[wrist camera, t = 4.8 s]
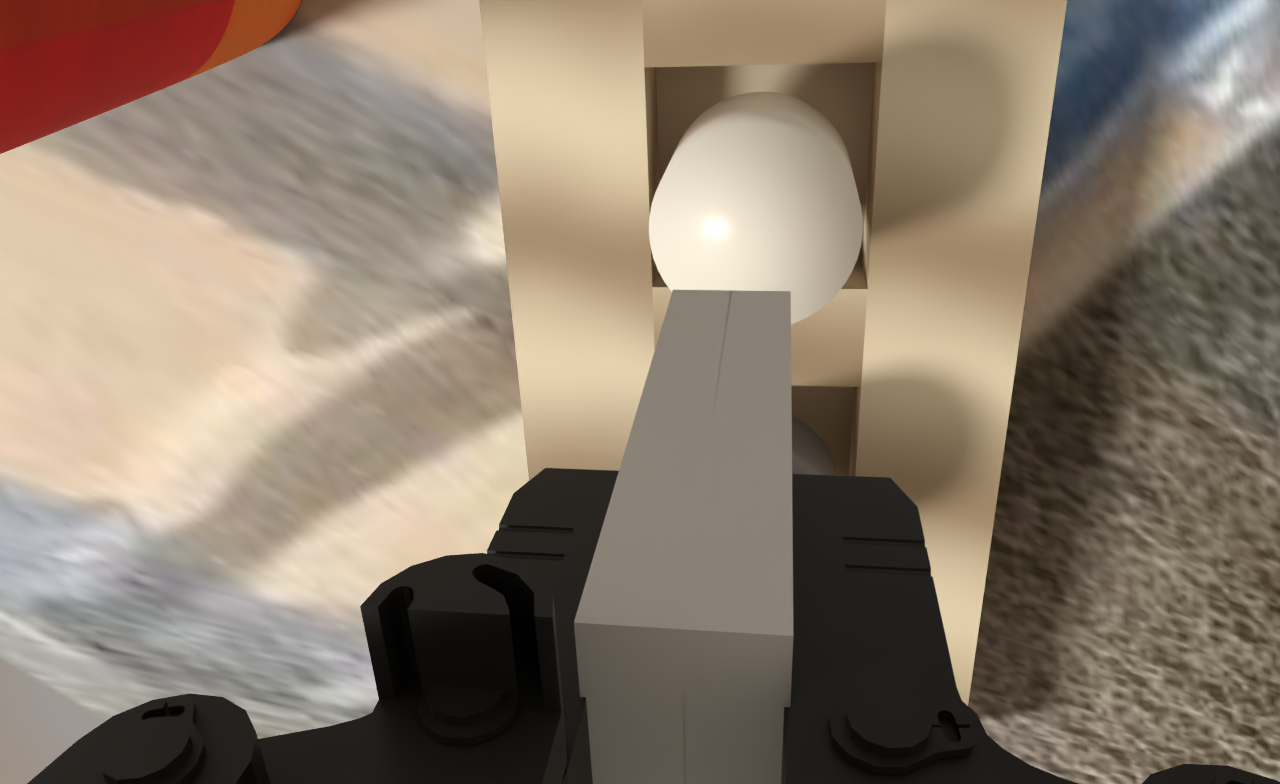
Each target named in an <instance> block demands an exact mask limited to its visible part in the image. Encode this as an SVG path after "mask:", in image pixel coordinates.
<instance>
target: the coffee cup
mask: <svg viewBox="0 0 1280 784" xmlns="http://www.w3.org/2000/svg"><path fill="white" fill-rule="evenodd" d="M301 2H302V0H0V154H1V153H4V152H6V151H9V150H11V149H14V148H16V147H19V146H21V145H24V144H26V143H29V142H31V141H34V140H36V139H39V138H41V137H44V136H46V135H49V134H52V133H54V132H57V131H59V130H62V129H64V128H67V127H69V126H72V125H74V124H77V123H79V122H82V121H84V120H87V119H89V118H92V117H94V116H97V115H99V114H102V113H104V112H107V111H109V110H111V109H114V108H116V107H119V106H121V105H124V104H126V103H129V102H131V101H134V100H136V99H139V98H141V97H144V96H146V95H149V94H151V93H153V92H156V91H158V90H161V89H163V88H166V87H168V86H171V85H173V84H176V83H178V82H180V81H183V80H185V79H188V78H190V77H192V76H195V75H197V74H200V73H202V72H204V71H207V70H209V69H212V68H214V67H216V66H219V65H221V64H223V63H226V62H228V61H230V60H232V59H235V58H237V57H239V56H241V55H243V54H246V53H248V52H250V51H252V50H254V49H255V48H257V47H259V46H261V45H263V44H264V43H266V42H268V41H269V40H270V39H272V38H273V37H274V36H276V35H277V34H278V33H279V32H280V31H281V30H282V29H283V28H284V27H285V26H286V25H287V24H288V23H289V22H290V20H291V19H292V18H293V16H294V15H295V13H296V12H297V10H298V8H299V6H300V4H301Z"/></svg>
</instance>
